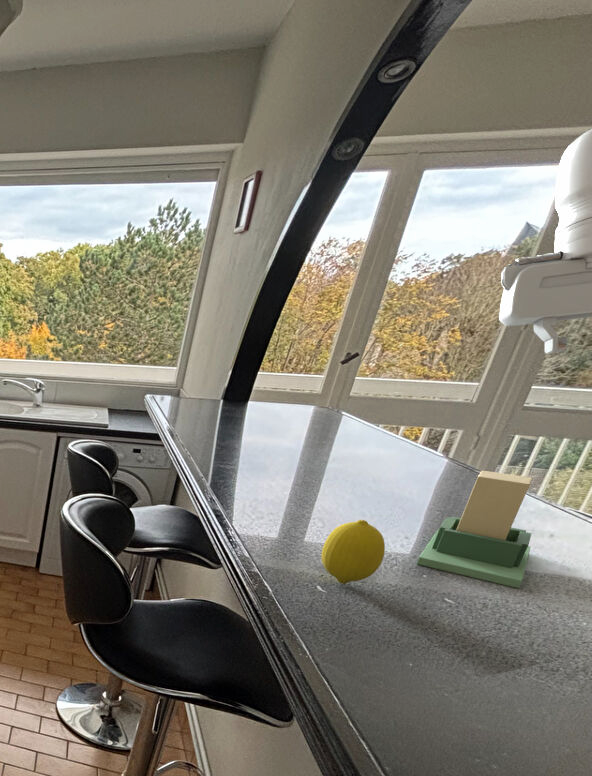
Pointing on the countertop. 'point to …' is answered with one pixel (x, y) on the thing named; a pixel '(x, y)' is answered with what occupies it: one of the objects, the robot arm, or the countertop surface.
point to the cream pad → (493, 504)
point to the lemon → (353, 551)
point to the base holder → (478, 554)
